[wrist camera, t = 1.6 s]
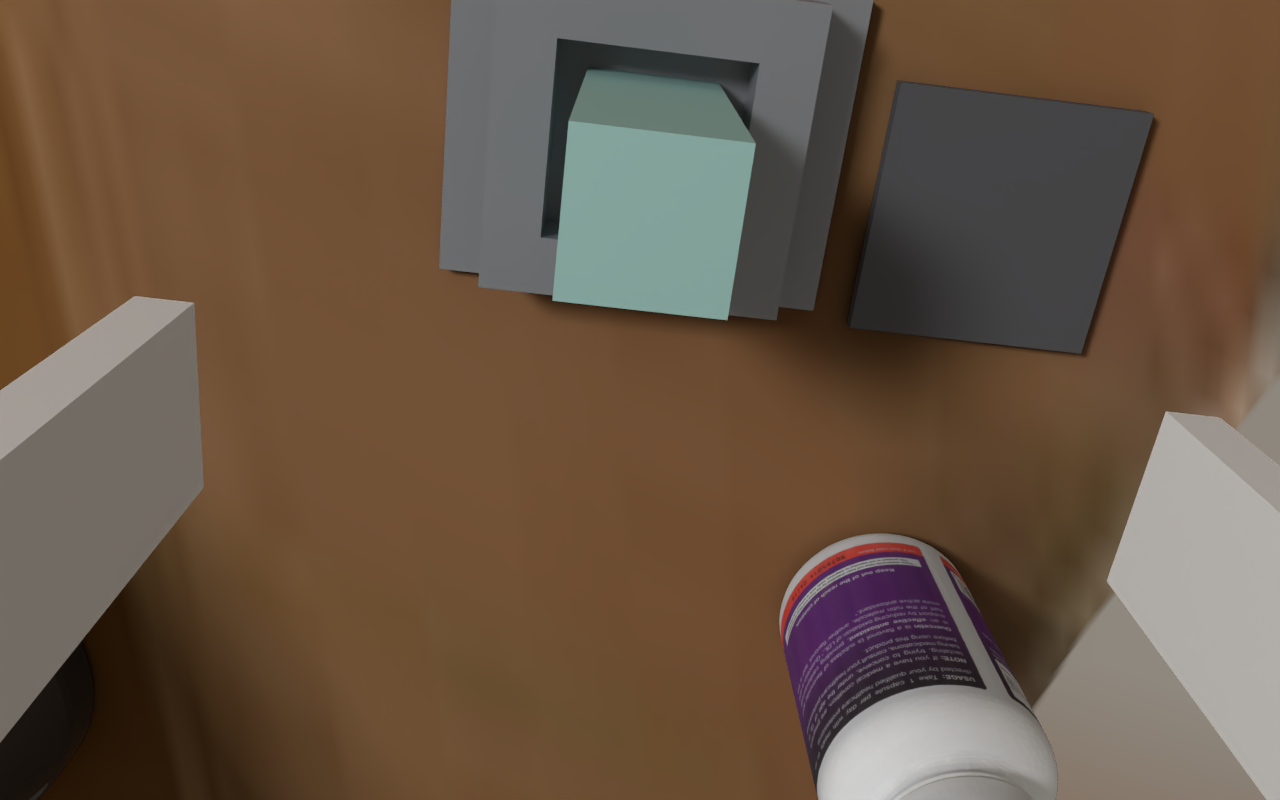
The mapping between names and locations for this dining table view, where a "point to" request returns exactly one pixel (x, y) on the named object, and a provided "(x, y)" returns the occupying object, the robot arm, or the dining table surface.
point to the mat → (995, 216)
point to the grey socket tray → (659, 45)
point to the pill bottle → (905, 681)
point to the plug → (652, 195)
